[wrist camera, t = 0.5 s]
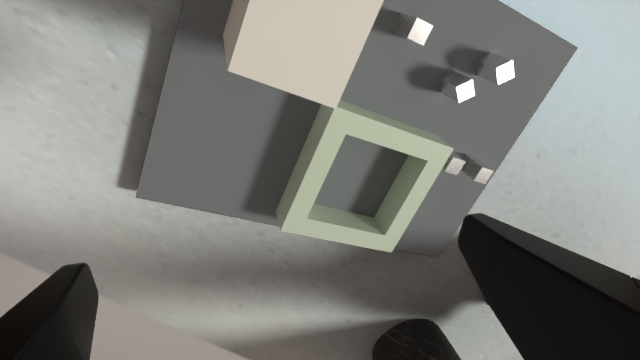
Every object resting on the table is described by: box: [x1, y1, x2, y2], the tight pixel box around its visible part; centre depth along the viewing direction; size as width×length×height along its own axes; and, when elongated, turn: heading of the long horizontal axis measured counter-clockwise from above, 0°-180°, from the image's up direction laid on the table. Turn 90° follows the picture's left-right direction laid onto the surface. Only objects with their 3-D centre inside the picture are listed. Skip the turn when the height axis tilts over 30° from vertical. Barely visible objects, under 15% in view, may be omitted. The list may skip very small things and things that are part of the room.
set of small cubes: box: [391, 13, 514, 184], centre depth 21 cm, size 10×9×2 cm
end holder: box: [276, 100, 454, 253], centre depth 23 cm, size 8×8×2 cm
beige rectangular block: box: [223, 0, 384, 109], centre depth 15 cm, size 4×4×7 cm
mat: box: [136, 0, 578, 258], centre depth 23 cm, size 22×17×1 cm
